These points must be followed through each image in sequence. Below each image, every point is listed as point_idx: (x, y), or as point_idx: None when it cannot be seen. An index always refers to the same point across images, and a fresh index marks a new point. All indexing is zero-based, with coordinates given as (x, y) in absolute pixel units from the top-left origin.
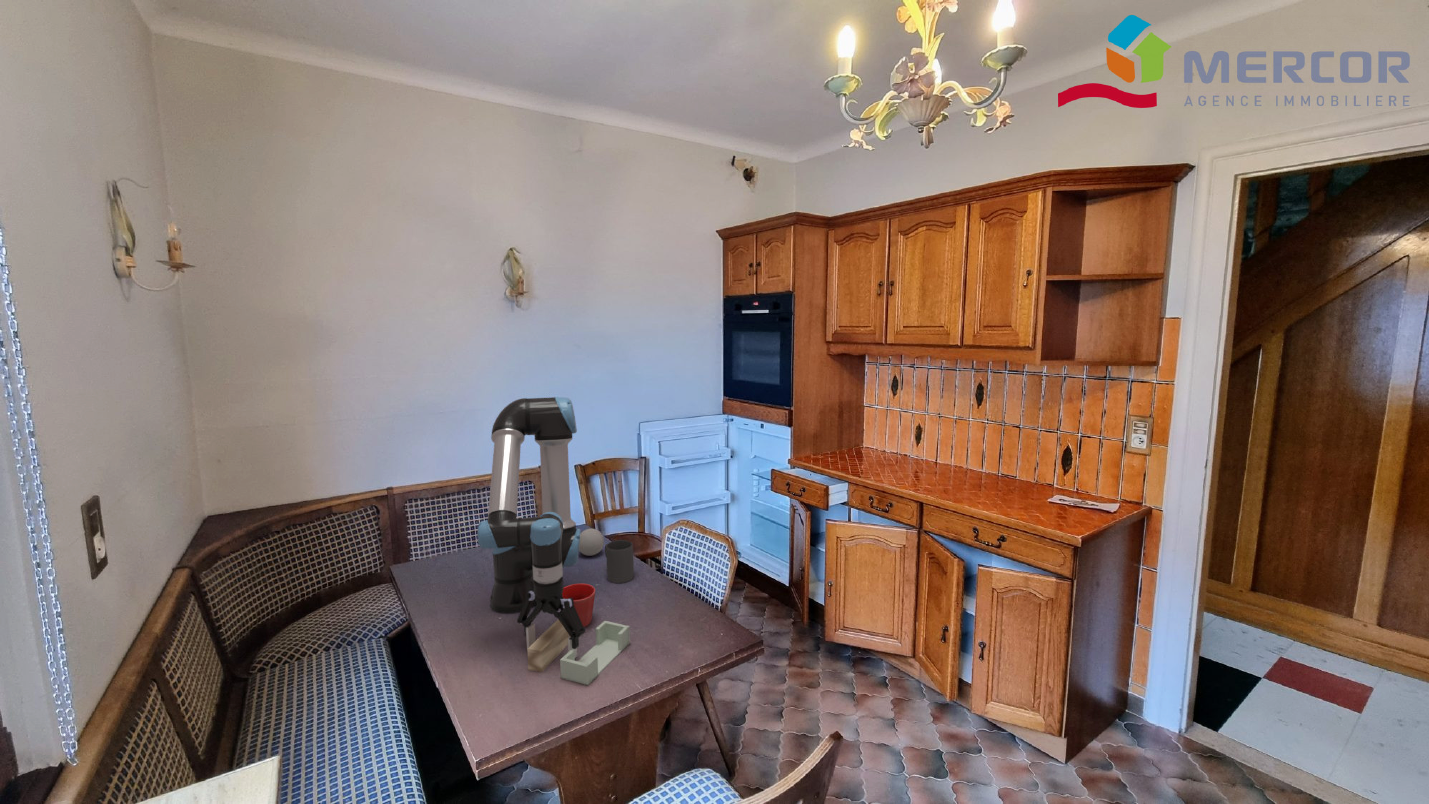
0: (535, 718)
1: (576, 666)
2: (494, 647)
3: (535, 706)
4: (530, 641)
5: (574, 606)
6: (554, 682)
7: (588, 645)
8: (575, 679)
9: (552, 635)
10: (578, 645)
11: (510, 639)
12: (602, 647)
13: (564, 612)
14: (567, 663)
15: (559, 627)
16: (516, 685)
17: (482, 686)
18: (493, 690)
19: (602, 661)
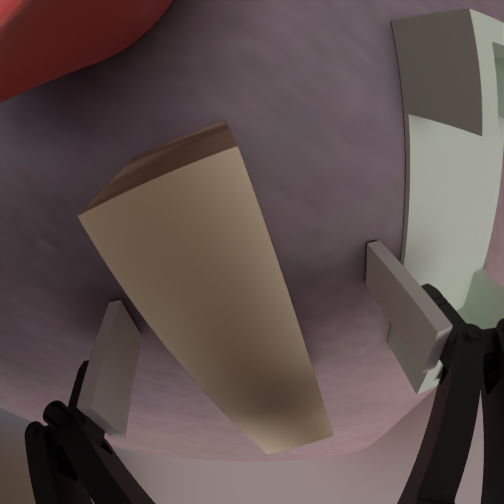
0: (396, 407)
1: None
2: (40, 366)
3: (380, 403)
4: (130, 360)
5: (98, 4)
6: (378, 358)
7: (367, 129)
8: None
9: (288, 387)
10: (433, 289)
11: (13, 318)
12: (447, 127)
13: (446, 501)
14: None
15: (249, 324)
16: None
17: (212, 440)
18: None
19: (480, 214)
